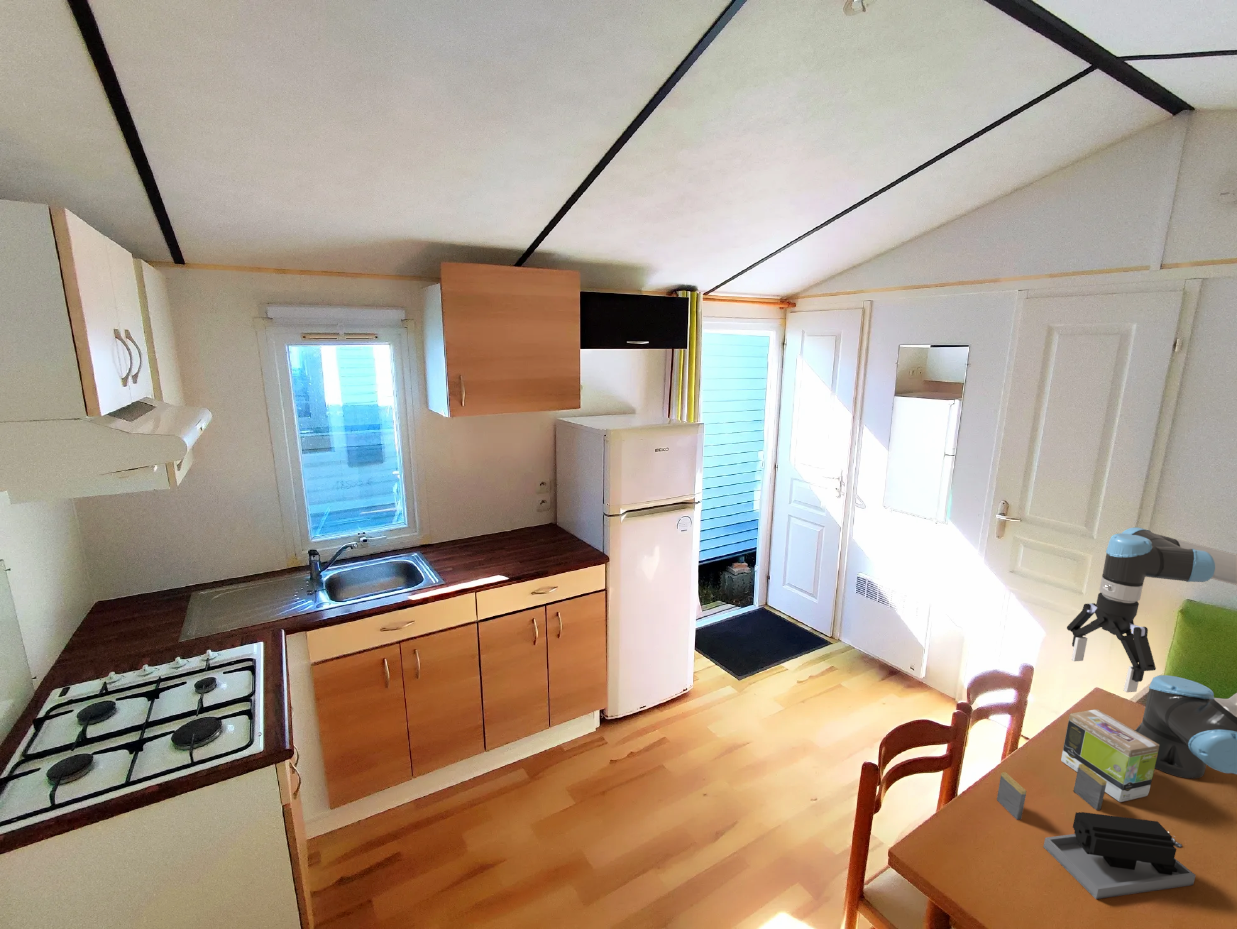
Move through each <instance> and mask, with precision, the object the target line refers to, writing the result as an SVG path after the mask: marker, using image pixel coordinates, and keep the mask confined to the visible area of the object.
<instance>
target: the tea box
mask: <svg viewBox="0 0 1237 929" xmlns="http://www.w3.org/2000/svg"><path fill="white" fill-rule="evenodd" d="M1135 730H1136V729H1133V728H1131V727H1130V726H1128V725H1126V724H1124V723H1123V722H1121V721H1119V720H1118V719H1115V718H1113V717H1112V716H1110V715H1108V714H1106V713H1104V712H1103V711H1101V710H1099V709H1098V708H1096V709H1090V710H1085V711H1078V712H1072V713H1069V716H1068V721H1067V726H1066V732H1065V737H1064V742H1063V747H1062V752H1061V759H1060V760H1061V762H1062V763H1063V764H1065V765H1067V766H1068V767H1069V768H1070V769H1072V770H1074V771H1075V772H1076V773H1077V771H1078V767H1079V764H1084V765H1085V766H1087V767H1088V768H1089V769H1091V770H1092V771H1093V772H1094V773H1096V774H1097V775H1098V776H1100V777H1101V778H1102V779H1104V780H1105V781H1106V782H1107V783H1106V788H1105V793H1106V794H1108V795H1109V796H1110V797H1112V798H1113V799H1115V800H1116V801H1117V802H1118V803H1122V802H1127V801H1132V800H1135V799H1141V798H1145V797H1148V795H1149V793H1150V789H1151V785H1152V781H1153V777H1154V772H1155V769H1156V768H1155V764H1156V759H1157V755H1158V750H1159V744H1157V743H1156V742H1154V741H1152V740H1150V739H1149V738H1147V737H1145V736H1143V735H1142V734H1140V733H1138V732H1136V731H1135Z"/></svg>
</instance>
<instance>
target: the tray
mask: <svg viewBox="0 0 1237 929" xmlns="http://www.w3.org/2000/svg"><path fill="white" fill-rule="evenodd" d="M1043 842H1044V843H1043V848H1044V849H1045V851H1047V853H1049V854H1050V855H1051V857H1053V858H1054V859H1055V860H1056V861H1057V862H1058V863H1059V864H1060V865H1061V866H1062V867H1063V868H1064V869H1065V870H1066V871H1067V872H1068V874H1070V875H1071V876H1072V877H1073V878H1074V879H1075V880H1076V881H1077V882H1078V883H1079V884H1080V885H1081V886H1082V887H1083V888H1084V889H1085V890H1086V891H1087V892H1088V893H1089V895H1091V896H1092V897H1093V898H1094V899H1095V900H1099V899H1100V900H1101V899H1107V898H1113V897H1119V896H1120V897H1121V896H1126V895H1127V896H1128V895H1135V894H1142V893H1147V892H1155V891H1161V890H1168V889H1170V890H1171V889H1175V888H1182V887H1188V886H1189V887H1190V886H1194V883H1195V879H1196V874H1195V873H1193V871H1191V870H1190V869H1189V868H1187V866H1185V865H1184V864H1182V863H1181V862H1180V861H1179V860H1178V859H1176V857H1174V859H1175V860H1176V862H1175V868H1176V869H1177V873H1176V872H1172V875H1168V874H1160V873H1158V871H1157V870H1156V869H1155V868H1154V867H1153V866H1152V864H1151V863H1146V862H1141V861H1137V862H1136V866H1135V870H1131V869H1124V868H1116V867H1110V866H1109V864H1108V863H1107V862H1106V860H1105V859H1104V858H1103V856H1098V855H1091V854H1087V853H1086V852H1085V851H1084V849H1083V848H1082V846H1081V845H1080V844H1079V842H1078V841H1077V840H1076V836H1075V833H1072V834H1064V835H1057V836H1056V835H1055V836H1047V837H1045V838H1044V841H1043Z"/></svg>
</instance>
